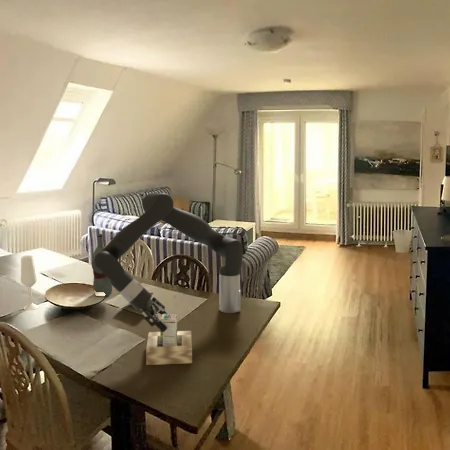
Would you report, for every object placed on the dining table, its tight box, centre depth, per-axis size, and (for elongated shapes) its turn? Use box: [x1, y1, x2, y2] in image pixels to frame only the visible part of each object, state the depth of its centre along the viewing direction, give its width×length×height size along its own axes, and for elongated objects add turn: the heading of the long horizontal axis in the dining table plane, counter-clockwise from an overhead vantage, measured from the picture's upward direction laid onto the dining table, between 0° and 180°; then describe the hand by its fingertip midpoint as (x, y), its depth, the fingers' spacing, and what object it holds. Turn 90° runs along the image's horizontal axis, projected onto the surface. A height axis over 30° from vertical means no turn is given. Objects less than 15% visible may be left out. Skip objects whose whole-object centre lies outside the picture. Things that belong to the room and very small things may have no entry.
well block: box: [145, 330, 193, 366], centre depth 180 cm, size 16×16×5 cm
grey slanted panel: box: [116, 289, 156, 312], centre depth 220 cm, size 16×9×15 cm
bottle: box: [91, 233, 113, 297], centre depth 237 cm, size 9×9×30 cm
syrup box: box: [159, 313, 178, 347], centre depth 179 cm, size 6×6×14 cm
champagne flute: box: [20, 255, 40, 311], centre depth 221 cm, size 7×7×24 cm
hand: (167, 325), depth 178 cm, fingers open, 8 cm apart
